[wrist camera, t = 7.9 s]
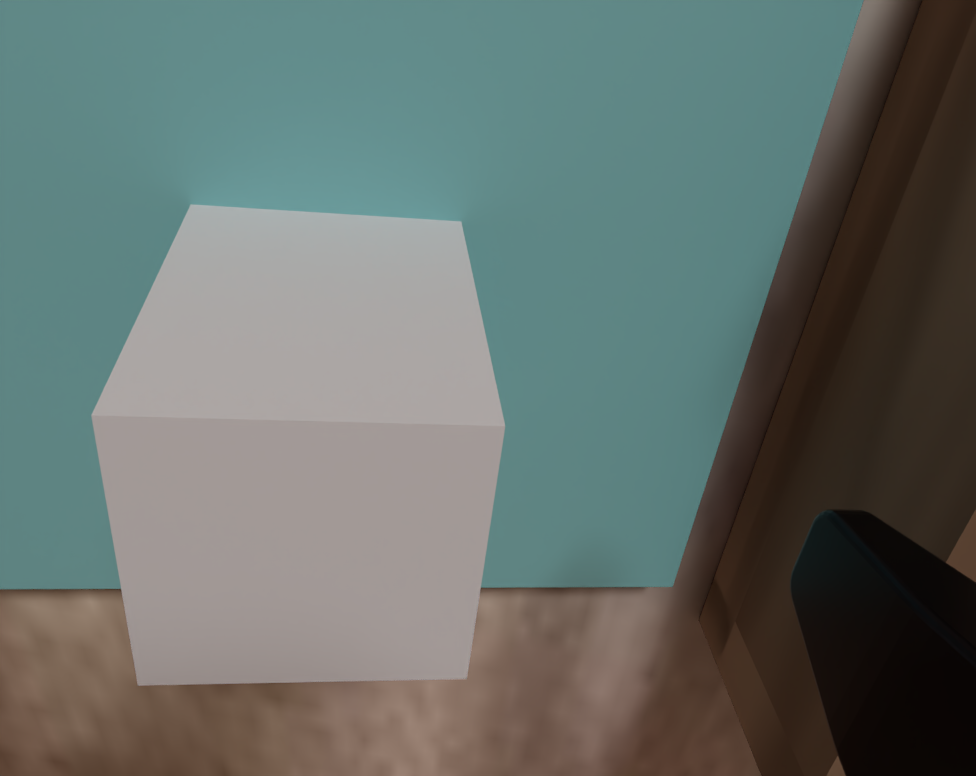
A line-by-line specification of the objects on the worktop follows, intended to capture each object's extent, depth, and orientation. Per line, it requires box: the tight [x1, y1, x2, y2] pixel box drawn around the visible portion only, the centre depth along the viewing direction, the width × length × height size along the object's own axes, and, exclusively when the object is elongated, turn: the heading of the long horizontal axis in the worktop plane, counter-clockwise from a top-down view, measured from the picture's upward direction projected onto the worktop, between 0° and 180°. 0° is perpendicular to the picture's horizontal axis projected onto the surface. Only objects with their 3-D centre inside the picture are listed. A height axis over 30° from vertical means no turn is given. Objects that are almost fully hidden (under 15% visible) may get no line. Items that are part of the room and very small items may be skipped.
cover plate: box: [0, 0, 864, 686], centre depth 9 cm, size 11×9×5 cm
